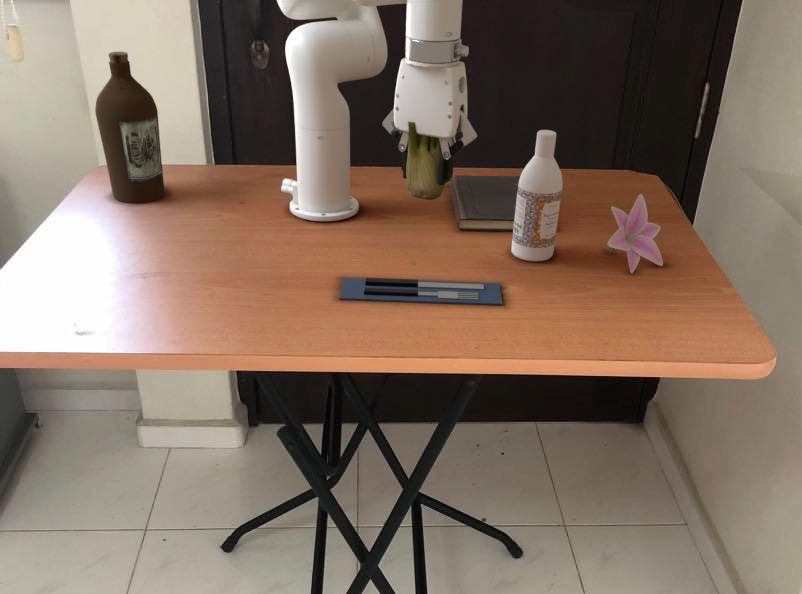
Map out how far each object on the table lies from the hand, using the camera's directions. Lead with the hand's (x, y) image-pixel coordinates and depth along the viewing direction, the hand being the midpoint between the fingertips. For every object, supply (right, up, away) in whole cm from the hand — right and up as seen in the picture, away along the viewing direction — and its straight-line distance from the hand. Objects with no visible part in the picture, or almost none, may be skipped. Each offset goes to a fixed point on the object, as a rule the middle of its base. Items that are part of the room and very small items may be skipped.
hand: (426, 178), depth 125 cm
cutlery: (-1, -17, 0) cm, 17 cm away
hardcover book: (+14, +2, +30) cm, 33 cm away
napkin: (-1, -17, 0) cm, 17 cm away
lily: (+34, -11, +11) cm, 37 cm away
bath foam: (+18, -9, +13) cm, 24 cm away
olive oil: (-53, +5, +31) cm, 62 cm away
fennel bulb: (0, -3, +2) cm, 3 cm away
